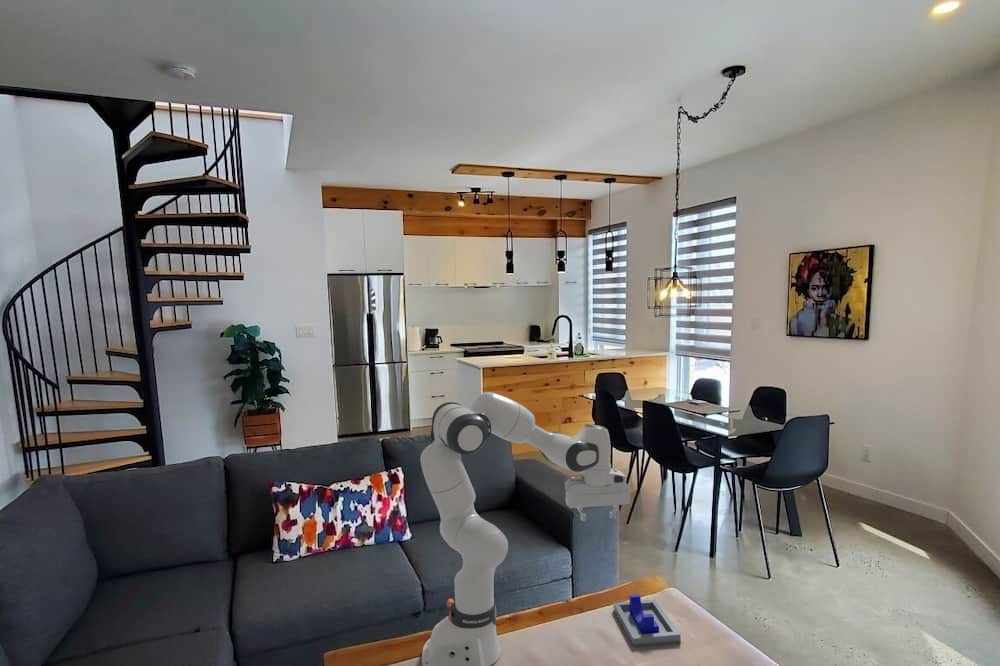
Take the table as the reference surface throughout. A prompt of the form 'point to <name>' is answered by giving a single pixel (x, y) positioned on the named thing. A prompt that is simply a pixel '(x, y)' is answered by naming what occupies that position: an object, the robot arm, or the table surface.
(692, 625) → the table surface
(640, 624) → the blue angular stepped piece
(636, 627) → the tray
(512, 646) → the table surface
